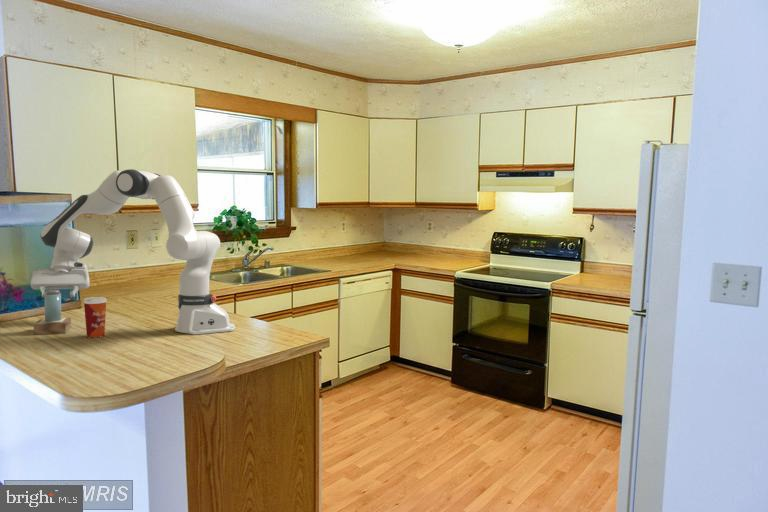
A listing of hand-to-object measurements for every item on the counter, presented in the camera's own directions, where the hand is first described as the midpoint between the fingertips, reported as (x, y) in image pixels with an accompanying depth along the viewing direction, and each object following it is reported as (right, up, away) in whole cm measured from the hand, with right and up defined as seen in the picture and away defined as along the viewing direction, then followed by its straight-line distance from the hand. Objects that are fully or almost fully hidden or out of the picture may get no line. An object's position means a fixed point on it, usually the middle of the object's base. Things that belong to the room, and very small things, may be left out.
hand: (58, 296), depth 202 cm
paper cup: (+23, -14, -14) cm, 30 cm away
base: (+4, -12, -9) cm, 16 cm away
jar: (+4, -8, -9) cm, 13 cm away
